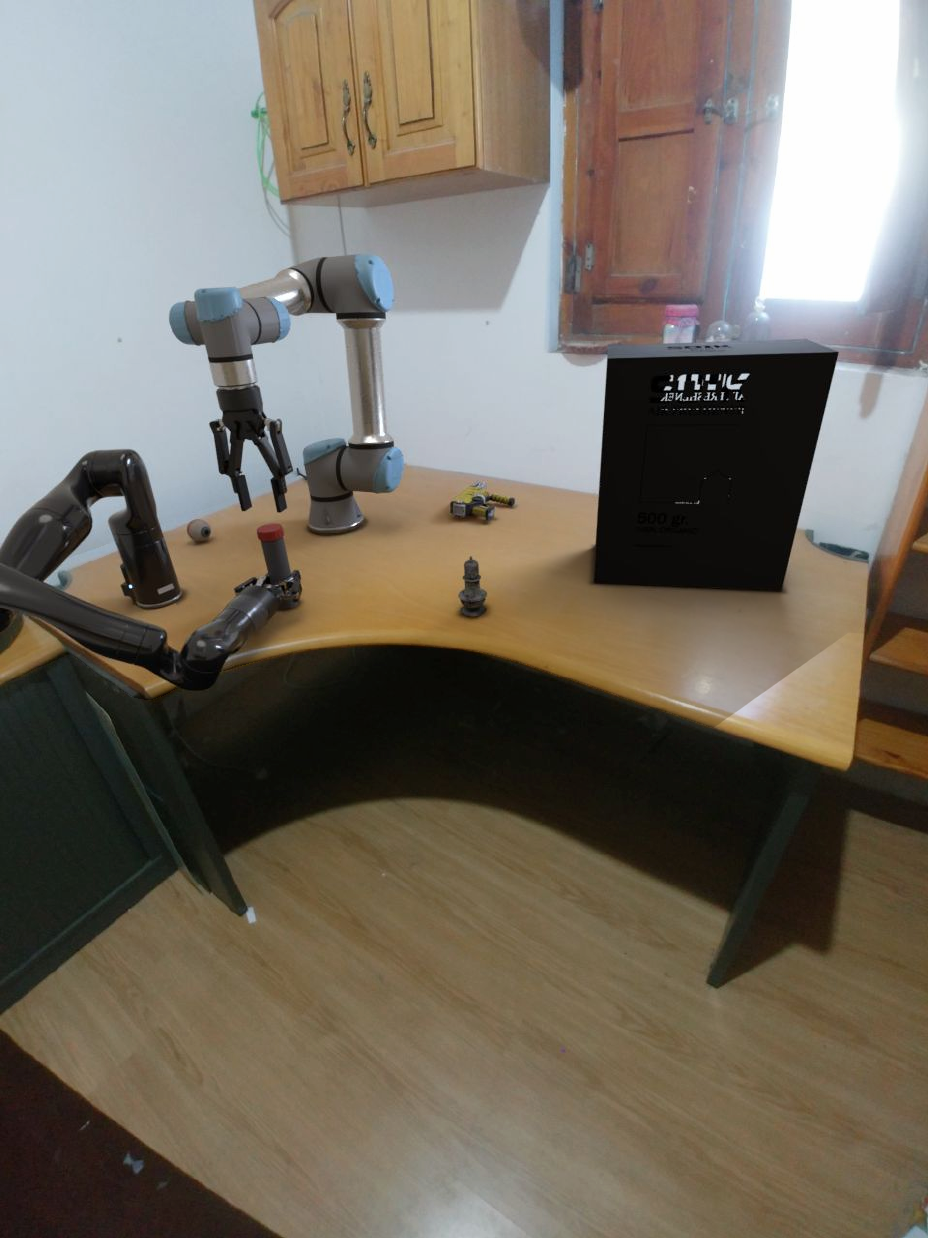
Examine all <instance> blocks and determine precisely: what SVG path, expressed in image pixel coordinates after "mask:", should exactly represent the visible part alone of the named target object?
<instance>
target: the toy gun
mask: <svg viewBox="0 0 928 1238" xmlns="http://www.w3.org/2000/svg"><path fill="white" fill-rule="evenodd" d="M486 487H487V482H486V481H485V480H483V481H482V482H481V480H477V481H476V482H474V483H473V484H472V485H469V486H468V487H467V488H466V489H465V490H463V491H462V492H461V493H460V494H459V495H457V496H456V497H455V498H454V499H453V500H451V502H450V503H449V504H450V505H449V513H450V515H451V516H454V518H458V519H459V518H460V519H461V518H471V517H474V516H477V517H481V518H485V521H487V522H488V521H490V520H491V519H493V518H494V517H495V511H496V509H495V508H496V507H495V506H494V505H492V504H491V505H490V506H489V505H488V504H487V503H489V502H490V501H491V502H492V503H499V504H502V505H507V506H508V507H513V506H514V505H515V503H516V499H515V498H514V497H511V496H509V497H508V496H506V495H505V496H504V495H501V494H497V493H491V495H490V494H489V492H488V491H487V489H485V488H486Z"/></svg>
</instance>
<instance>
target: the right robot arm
mask: <svg viewBox="0 0 928 1238" xmlns="http://www.w3.org/2000/svg"><path fill="white" fill-rule="evenodd" d="M193 299H194V300H184V301H178V302H175V303H173V305H172V306H171V307H170V309H169V313H168V322H169V323H168V324H169V325H170V329H171V331H172V333H173V335H174V337H175V338H176V339H177V340H178V341H179V342H180V343H182V344H183V345H190V346H197V347H199V346H204V348H205V350H206V354H207V361H208V365H209V370H210V374H211V378H212V382H213V386H215V387H217V388H216V391H215V395H216V399H217V402H218V407H219V410H220V411H221V412H222V417H221V418H217V419H214V420H211V421H209V423H208V426H209V428H210V430H211V433H212V434H213V440H214V441H213V442H214V447H215V456H216V461H217V467H218V469H217V470H218V473H219V474H221V475H225V476H228V477H229V478H230V483H231V486H232V491H233V492H234V494H237V497H238V501H239V507H240V510H241V512H247V511H248V510H250V509H251V508H253V504H252V500H251V495H250V491H249V487H248V482H247V478H246V474H243V470H242V462H243V453H244V443H245V441H246V440H247V441H251V443H253V445H254V446H256V447H257V449H258V451H259V453H260V455H261V456H262V459H263V461H264V463H265V464H266V466H267V468H268V469H269V471H270V473H271V475H272V476H273V477H271V478H270V485H271V490H272V494H273V500H274V504H275V508H276V513H279V514H281V513H282V512H284V511H285V510H287V509H288V504H287V500H286V495H285V494H287V493H288V486H287V481H286V476H288V475H290V474H291V473H293V472H294V467H293V464H292V461H291V457H290V454H289V450H288V447H287V444H286V441H285V437H284V434H283V421H282V419H281V418H277V419H272V418H268V417H267V415H266V414H265V412H264V402H263V398H262V393H261V388H260V386H259V385H257V383H258V381H259V379H258V373H257V368H256V365H255V359H254V355H253V350H252V346H256V345H257V346H258V345H264V344H270V343H271V344H274V343H276V342H278V341H279V342H280V341H281V340H283V339H285V338H286V337H287V336H288V335H289V333H290V330H291V316H295V317H298V316H302V315H305V314H335V318H336V322H337V323H338V324H339V326H340V327H342V330H343V335H344V346H345V356H346V357H345V359H346V369H347V378H348V391H349V400H350V411H351V423H352V434H351V436H350V437H349V438H348V440H347V441H346V439H345V438H342V437H334V438H328V439H323V440H320V441H319V440H318V441H316V442H313V443H309V444H308V445H306V446H305V447H304V448H303V450H302V457H303V458H302V460H303V467H304V471H305V474H303V473H301V472H300V469H299V467H296V472H297V475H299V476H300V477H303V478H305V479H306V481H307V486H308V492H309V498H310V507H309V513H308V521H307V524H308V528H309V529H308V530H310V531H311V532H312V533H314V534H317V535H323V536H324V535H325V536H327V535H329V536H331V535H339V534H340V535H341V534H345V533H350V532H353V531H355V530H357V529H359V528H361V527H362V526H363V525H364V523H365V519H364V514H363V512H362V510H361V508H360V505H359V504H358V501H357V500H356V498H355V495H354V492H359V493H371V494H372V493H374V494H376V495H377V494H390V493H392V492H394V491H395V490H396V489H397V488H398V486H399V485H400V483H401V481H402V478H403V474H404V466H405V459H404V457H405V456H404V454H403V450H401V448H399V447H398V446H395V441H394V439H395V438H394V437H393V436H392V435H391V434H389V433H388V424H387V423H388V422H387V421H388V420H387V408H386V395H385V394H386V392H385V380H384V365H383V364H384V363H383V351H382V335H381V328H382V327H383V325H384V324H385V323H386V321H387V315H386V313H388V312H389V311H391V310H392V309H393V306H394V301H395V289H394V283H393V279H392V275H391V273H390V270H389V269H388V267H387V265H386V263H385V262H384V261H383V259H381V257H379V256H378V255H376V254H370V253H369V254H367V253H366V254H364V253H356V254H347V255H336V256H335V255H334V256H321V257H316V258H311V259H309V260H305V261H302V262H301V263H297V264H296V265H292V266H290V267H287V268H284V269H281V270H279V271H278V272H277V273H276V275H275V277H272V278H269V279H266V280H263V281H259V282H256V283H252V284H248V285H245V286H242V287H238V288H237V287H236V286H223V287H221V286H220V287H204V288H198V289H196V290H195V291H194V292H193ZM290 315H291V316H290ZM265 428H266V430H265ZM227 430H228V431H229V438H228V433H227ZM266 431H268V432H269V436H268V433H267V432H266ZM269 438H270V440H269ZM270 442H271V443H270ZM229 444H230V445H229ZM347 444H348V445H347Z"/></svg>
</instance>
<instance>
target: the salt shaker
mask: <svg viewBox="0 0 928 1238" xmlns="http://www.w3.org/2000/svg"><path fill="white" fill-rule="evenodd" d="M463 572H464V574H463V576H462V579H463V583H464V588H463V589H462V590H461V591H459V592H458V594H457V596H458V597H457V598H458V599H459V601H460V603H461V605H462V606H461V608H460V613H461V615H463V616H466V617H479V616H482V615H484V614H486V612H487V607H486V606H485V605H484V604H485V602H486V601H487V597H488V591H486V590H485V589H483V588H481V581H480V580H482V575H480V567H479V562H478V561H477V560H475V559H473V556H472V555H469V557H468V559H467V560H465V561H464V563H463Z"/></svg>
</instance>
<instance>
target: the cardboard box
mask: <svg viewBox="0 0 928 1238" xmlns="http://www.w3.org/2000/svg"><path fill="white" fill-rule="evenodd" d="M839 353H840V352H839V351H837V350H835V349H832V348H830V347H828V346H825V345H823V344H819V343H817V342H815V341H812V340H810V339H808V338H795V339H791V338H790V339H789V338H787V339H765V340H764V339H761V340H759V339H758V340H732V341H730V340H729V341H728V340H727V341H698V342H697V341H696V342H669V343H639V344H638V343H636V344H635V343H634V344H632V343H631V344H609V345H607V355H606V356H607V357H606V371H605V384H604V400H603V401H604V403H603V418H602V432H601V433H602V436H601V450H600V453H601V454H600V464H599V465H600V466H599V467H600V468H599V481H598V482H599V483H598V484H599V485H598V498H597V515H596V530H595V545H594V546H595V548H594V565H593V583H594V584H614V585H615V584H616V585H618V584H619V585H637V586H639V585H641V586H658V587H659V586H663V587H681V588H682V587H684V588H703V589H705V588H707V589H727V590H728V589H729V590H747V591H767V592H768V591H769V592H771V591H772V592H782V591H783V587H784V583H785V578H786V575H787V572H788V571H787V570H788V567H789V562H790V558H791V554H792V549H793V545H794V542H795V537H796V532H797V528H798V525H799V520H800V516H801V512H802V509H803V508H802V507H803V503H804V499H805V495H806V490H807V487H808V482H809V478H810V476H811V475H810V474H811V470H812V467H813V462H814V457H815V454H816V449H817V445H818V442H819V436H820V432H821V428H822V424H823V420H824V416H825V411H826V408H827V404H828V399H829V395H830V391H831V387H832V382H833V379H834V374H835V370H836V366H837V362H838V358H839ZM742 374H743V375H747V377H746V378H744V379H739V378H740V377H741V376H742ZM693 375H695V376H696V375H697V382H696V380H695V379H693V380H692V377H693ZM707 375H709V378H708V379H707ZM682 376H685V380H684V382H683V389H679V385H680V379H679V378H680V377H682ZM730 376H731V377H730ZM729 377H730V383H729V385H730V386H735V385H740V386H739V388H729V387H728V379H729ZM706 379H707V380H706ZM696 385H699V389H695V388H696ZM713 385H714V386H715V387H714V389H709V386H713ZM667 387H670V389H666V388H667Z"/></svg>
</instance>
